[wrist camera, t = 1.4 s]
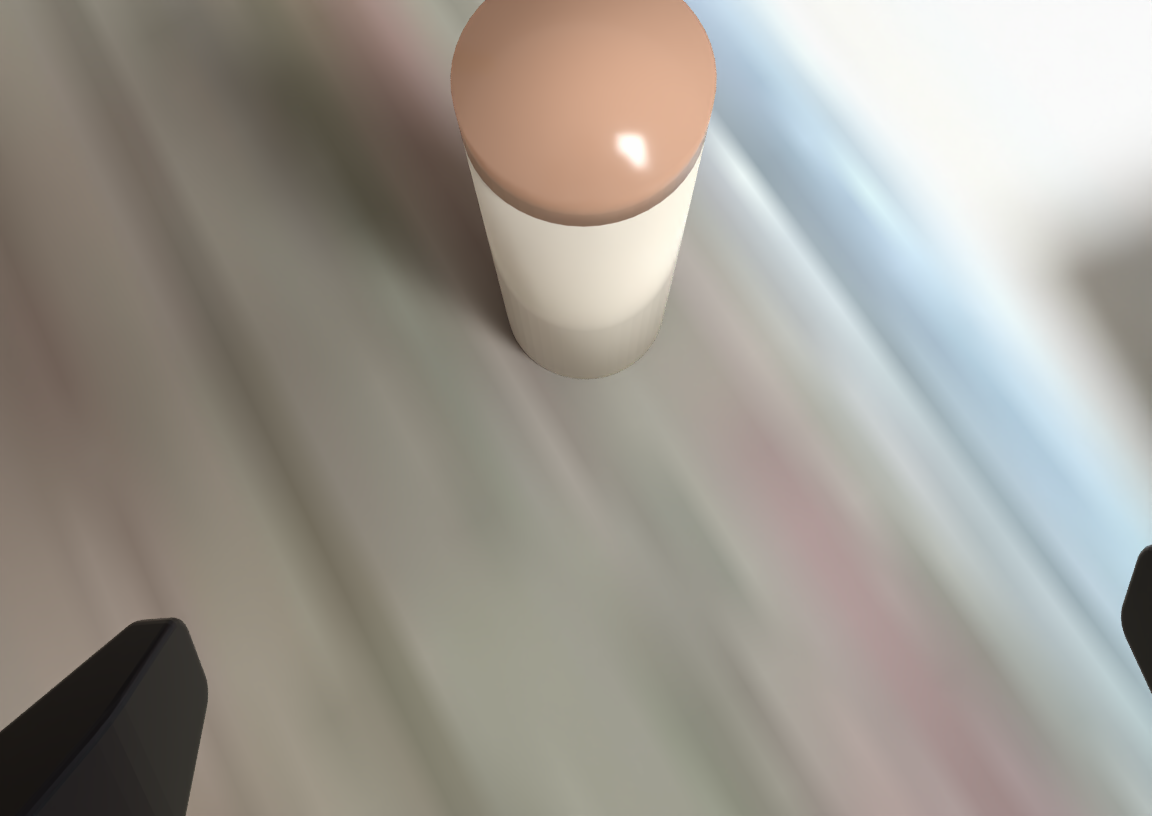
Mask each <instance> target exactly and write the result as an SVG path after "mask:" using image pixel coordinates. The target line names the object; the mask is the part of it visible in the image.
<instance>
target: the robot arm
mask: <svg viewBox="0 0 1152 816" xmlns="http://www.w3.org/2000/svg"><path fill="white" fill-rule="evenodd" d="M1121 621H1122V627H1123V631H1124V634H1125V637H1126V639H1127V641H1128V644H1129V646H1130V648H1131V650H1132V652H1133V654H1134V657H1135V659H1136V661H1137V663H1138V665H1139V667H1140V669H1141V672H1142V674H1143V676H1144V678H1145V680H1146V682H1147V685H1148V687H1149V689H1150V691H1151V693H1152V545H1149V546H1147V547H1145V548H1144V549H1143V550H1142V551H1141V553H1140V554H1139V556H1138V559H1137V562H1136V565H1135V568H1134V572H1133V575H1132V578H1131V581H1130V584H1129V587H1128V590H1127V593H1126V596H1125V599H1124V603H1123V606H1122V611H1121ZM207 702H208V686H207V680H206V676H205V674H204V671H203V668H202V666H201V663H200V660H199V658H198V655H197V652H196V650H195V647H194V644H193V642H192V639H191V636H190V634H189V631H188V629H187V627H186V625H185V624H184V623H183V621H181V620H180V619H177V618H160V619H147V620H140V621H136V622H134V623H132V624H130V625H129V626H128V627H126V628H125V629H124V630H123V631H121V632H120V633H119V634H118V635H117V636H115V637H114V638H113V639H112V640H111V641H109V642H108V643H107V644H106V645H104V646H103V647H102V648H101V649H100V650H98V651H97V652H96V653H95V654H94V655H92V656H91V657H90V658H89V659H88V660H86V661H85V662H84V663H83V664H82V665H80V666H79V667H78V668H77V669H76V670H74V671H73V672H72V673H71V674H69V675H68V676H67V677H66V678H65V679H63V680H62V681H61V682H60V683H59V684H57V685H56V686H55V687H54V688H53V689H51V690H50V691H49V692H48V693H47V694H45V695H44V696H43V697H42V698H41V699H39V700H38V701H37V702H36V703H34V704H33V705H32V706H31V707H30V708H28V709H27V710H26V711H25V712H24V713H22V714H21V715H20V716H19V717H18V718H16V719H15V720H14V721H13V722H12V723H10V724H9V725H8V726H7V727H6V728H4V729H3V730H2V731H1V732H0V816H186V811H187V806H188V801H189V796H190V791H191V785H192V780H193V775H194V770H195V765H196V760H197V755H198V749H199V744H200V739H201V734H202V729H203V724H204V719H205V713H206V708H207Z"/></svg>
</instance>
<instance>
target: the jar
mask: <svg viewBox="0 0 1152 816" xmlns="http://www.w3.org/2000/svg"><path fill="white" fill-rule="evenodd" d="M715 92H716V66H715V58H714V54H713V51H712V47H711V43H710V41H709V39H708V36H707V34H706V32H705V29H704V28H703V26H702V24H701V23H700V21H699V19H698V18H697V16H696V15H695V14H694V12H693V11H692V10H691V9H690V7H689V6H688V5H687V4H686V3H685V2H684V1H683V0H485V1H484V2H483V3H482V4H481V5H480V6H479V8H478V9H477V10H476V11H475V13H474V14H473V15H472V16H471V18H470V19H469V21H468V23H467V24H466V26H465V28H464V29H463V31H462V33H461V36H460V38H459V40H458V43H457V45H456V48H455V52H454V56H453V60H452V68H451V94H452V99H453V104H454V109H455V113H456V117H457V121H458V125H459V129H460V132H461V136H462V140H463V144H464V148H465V152H466V156H467V160H468V164H469V167H470V171H471V175H472V179H473V183H474V187H475V191H476V195H477V199H478V202H479V206H480V210H481V214H482V218H483V222H484V226H485V230H486V234H487V237H488V241H489V245H490V249H491V253H492V257H493V261H494V265H495V269H496V272H497V276H498V280H499V284H500V288H501V292H502V296H503V300H504V304H505V308H506V311H507V315H508V319H509V323H510V326H511V329H512V332H513V334H514V336H515V338H516V340H517V342H518V343H519V345H520V346H521V348H522V349H523V350H524V351H525V353H526V354H527V355H528V356H529V357H530V358H531V359H533V360H534V361H535V362H536V363H537V364H539V365H540V366H542V367H543V368H545V369H547V370H549V371H551V372H553V373H555V374H558V375H561V376H565V377H569V378H575V379H597V378H602V377H607V376H610V375H613V374H616V373H618V372H620V371H622V370H624V369H626V368H628V367H629V366H631V365H632V364H634V363H635V362H636V361H638V360H639V359H640V358H641V357H642V356H643V355H644V354H645V353H646V352H647V351H648V349H649V348H650V347H651V345H652V344H653V342H654V341H655V339H656V337H657V335H658V333H659V330H660V327H661V324H662V321H663V316H664V312H665V308H666V304H667V299H668V295H669V291H670V287H671V282H672V278H673V274H674V270H675V265H676V261H677V257H678V253H679V248H680V244H681V240H682V236H683V231H684V227H685V223H686V219H687V214H688V210H689V206H690V202H691V197H692V193H693V189H694V185H695V180H696V176H697V172H698V168H699V163H700V159H701V155H702V150H703V146H704V142H705V138H706V133H707V129H708V125H709V121H710V116H711V112H712V108H713V103H714V98H715Z"/></svg>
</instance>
